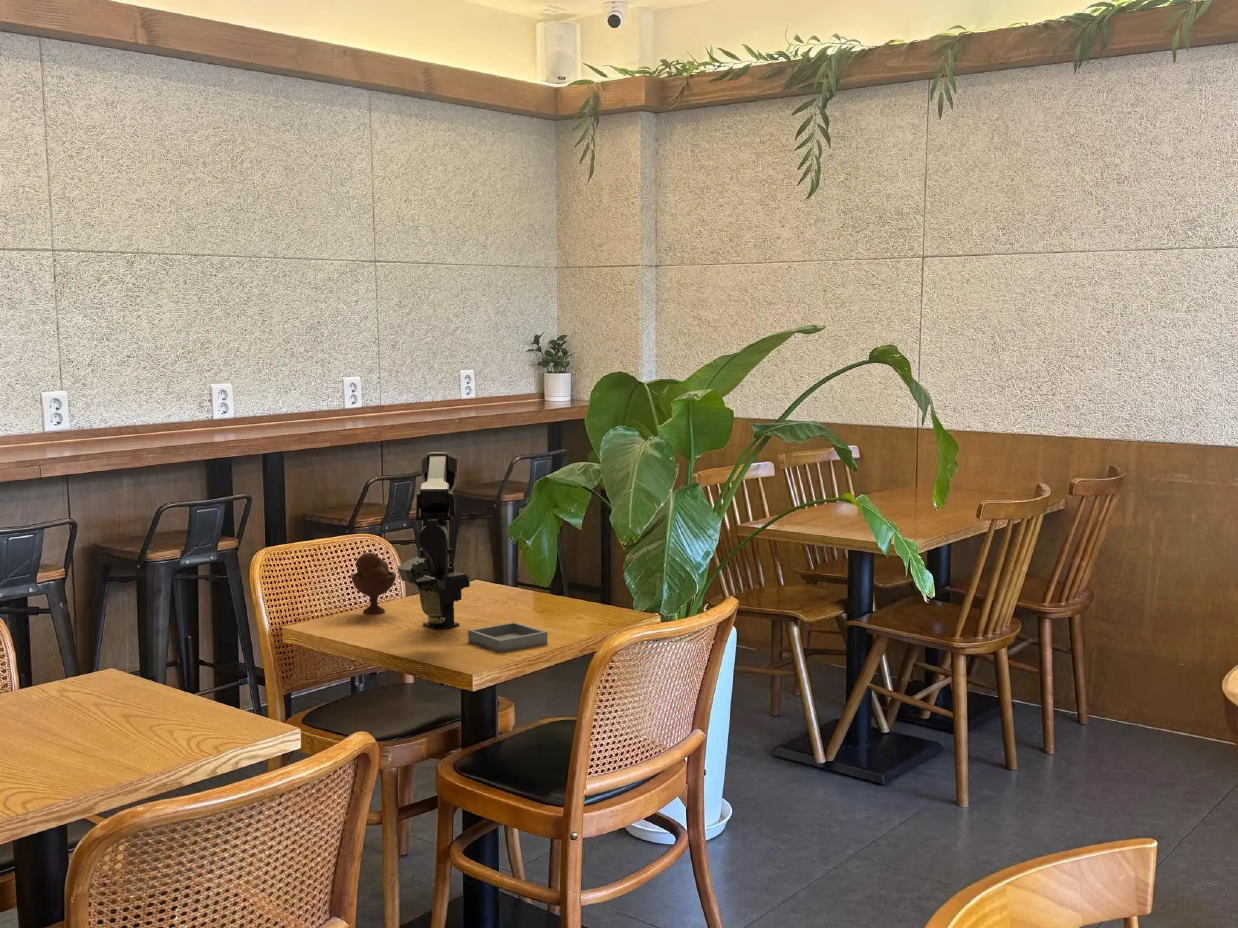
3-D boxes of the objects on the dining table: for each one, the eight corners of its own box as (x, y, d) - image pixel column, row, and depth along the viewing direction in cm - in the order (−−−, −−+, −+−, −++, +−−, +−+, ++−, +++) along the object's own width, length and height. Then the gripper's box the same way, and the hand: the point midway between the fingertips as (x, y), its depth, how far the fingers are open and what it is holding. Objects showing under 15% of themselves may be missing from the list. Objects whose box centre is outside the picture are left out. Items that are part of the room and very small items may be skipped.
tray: (468, 641, 274) (468, 630, 274) (514, 632, 282) (514, 622, 282) (500, 652, 265) (500, 640, 264) (547, 643, 273) (547, 631, 272)
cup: (446, 626, 265) (446, 590, 264) (414, 625, 266) (413, 588, 265) (458, 619, 272) (457, 583, 271) (426, 617, 274) (426, 582, 273)
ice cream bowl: (392, 617, 298) (391, 556, 297) (346, 616, 298) (345, 555, 297) (400, 607, 309) (399, 548, 307) (356, 607, 309) (355, 548, 307)
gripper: (381, 542, 269) (382, 612, 271) (425, 554, 255) (426, 628, 257) (425, 537, 277) (426, 605, 278) (471, 548, 262) (471, 620, 264)
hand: (436, 614), depth 269 cm, fingers closed on cup, 6 cm apart
